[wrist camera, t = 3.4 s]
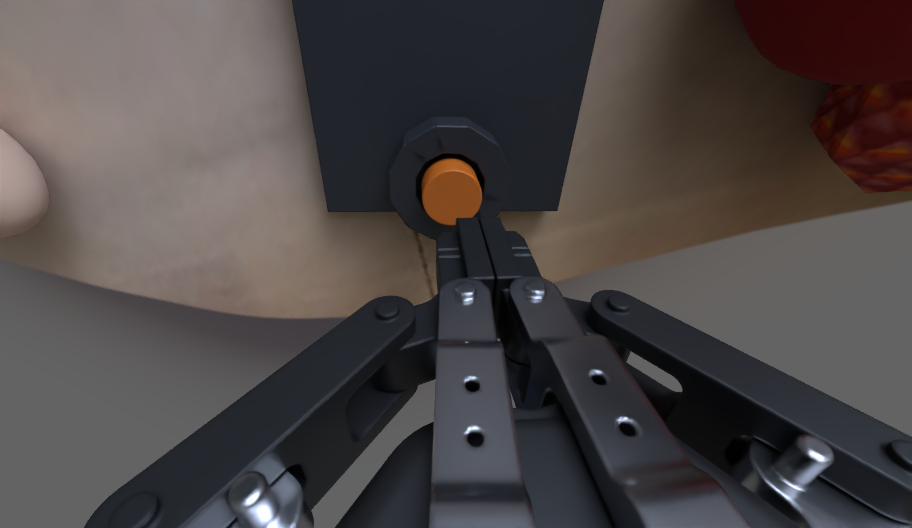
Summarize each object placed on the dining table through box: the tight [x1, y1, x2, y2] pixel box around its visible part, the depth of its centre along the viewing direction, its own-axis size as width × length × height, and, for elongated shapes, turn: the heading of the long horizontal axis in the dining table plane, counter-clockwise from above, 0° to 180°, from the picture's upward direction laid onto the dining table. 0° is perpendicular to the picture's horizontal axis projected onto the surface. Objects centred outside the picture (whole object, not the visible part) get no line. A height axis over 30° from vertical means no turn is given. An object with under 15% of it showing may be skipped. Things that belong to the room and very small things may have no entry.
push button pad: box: [292, 0, 604, 240], centre depth 16 cm, size 14×12×3 cm
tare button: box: [421, 158, 482, 225], centre depth 17 cm, size 3×3×2 cm
